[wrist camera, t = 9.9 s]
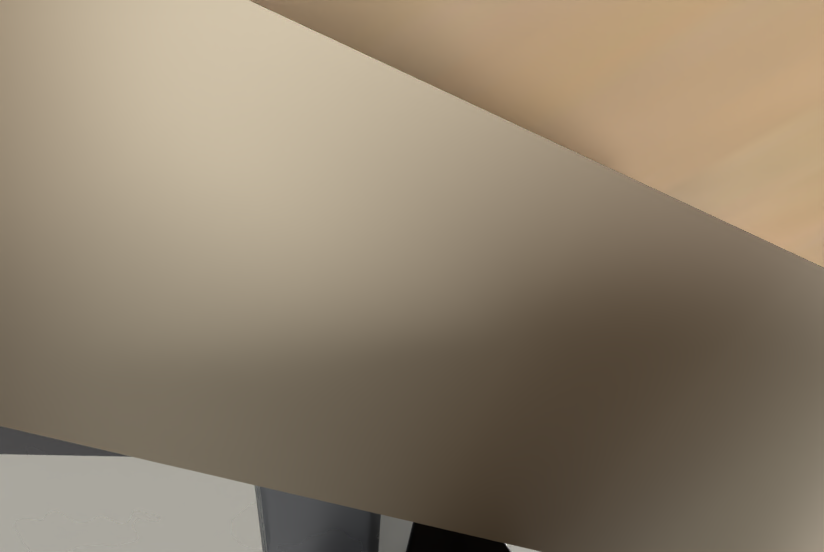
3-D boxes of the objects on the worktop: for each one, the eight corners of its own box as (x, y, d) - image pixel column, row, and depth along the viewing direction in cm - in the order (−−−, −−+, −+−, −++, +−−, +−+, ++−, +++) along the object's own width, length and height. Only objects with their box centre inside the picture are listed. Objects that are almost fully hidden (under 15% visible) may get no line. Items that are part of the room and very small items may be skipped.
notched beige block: (-24, 135, 9) (-897, 219, 3) (-28, -106, 7) (-2072, -1079, 1) (635, 367, 12) (864, 626, 6) (733, 240, 11) (1167, 427, 5)
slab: (606, 495, 15) (661, 600, 12) (41, 487, 14) (-62, 603, 11) (706, 244, 11) (831, 304, 8) (-87, 197, 10) (-317, 246, 6)
